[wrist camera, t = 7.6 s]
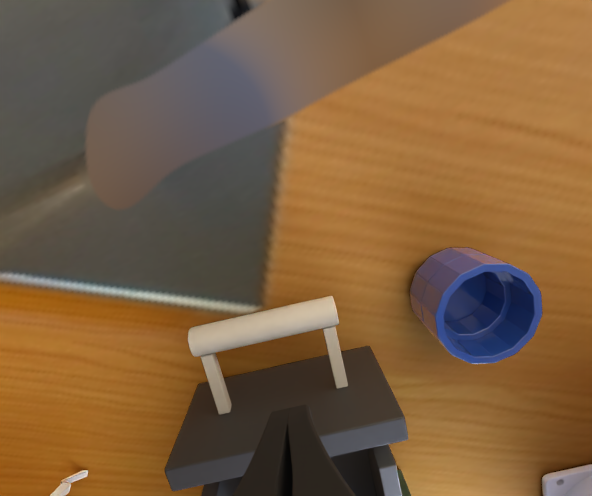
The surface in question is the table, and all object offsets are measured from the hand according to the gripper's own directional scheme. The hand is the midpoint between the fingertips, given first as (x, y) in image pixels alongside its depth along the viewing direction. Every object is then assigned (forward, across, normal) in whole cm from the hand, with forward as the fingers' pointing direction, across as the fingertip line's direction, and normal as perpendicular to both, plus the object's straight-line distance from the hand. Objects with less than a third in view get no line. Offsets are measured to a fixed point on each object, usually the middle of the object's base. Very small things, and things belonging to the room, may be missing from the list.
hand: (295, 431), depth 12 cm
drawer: (+8, +1, +6) cm, 10 cm away
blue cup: (+9, -10, 0) cm, 13 cm away
